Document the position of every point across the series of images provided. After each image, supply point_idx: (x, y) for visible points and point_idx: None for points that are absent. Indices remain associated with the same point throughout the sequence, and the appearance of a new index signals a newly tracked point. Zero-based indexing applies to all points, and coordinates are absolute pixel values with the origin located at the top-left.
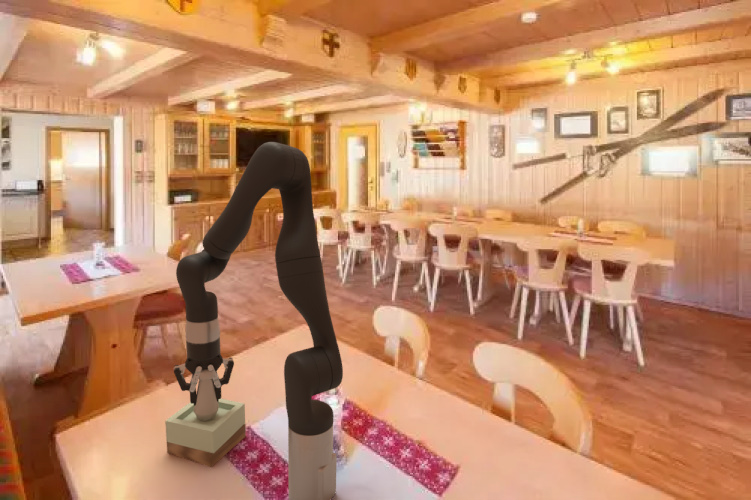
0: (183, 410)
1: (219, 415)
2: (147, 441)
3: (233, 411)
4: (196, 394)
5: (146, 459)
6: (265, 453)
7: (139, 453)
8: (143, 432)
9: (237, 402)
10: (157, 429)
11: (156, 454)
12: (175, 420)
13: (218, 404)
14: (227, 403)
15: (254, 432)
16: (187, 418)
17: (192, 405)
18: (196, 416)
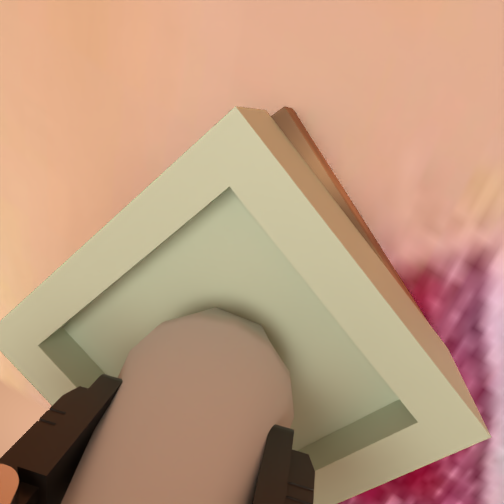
0: (83, 284)
1: (298, 383)
2: (35, 117)
3: (371, 474)
4: (89, 443)
5: (37, 244)
6: (440, 463)
7: (12, 191)
8: (16, 23)
9: (451, 394)
10: (74, 28)
11: (69, 234)
12: (36, 363)
13: (290, 426)
14: (377, 368)
15: (479, 316)
16: (123, 306)
17: (145, 251)
18: (172, 317)
